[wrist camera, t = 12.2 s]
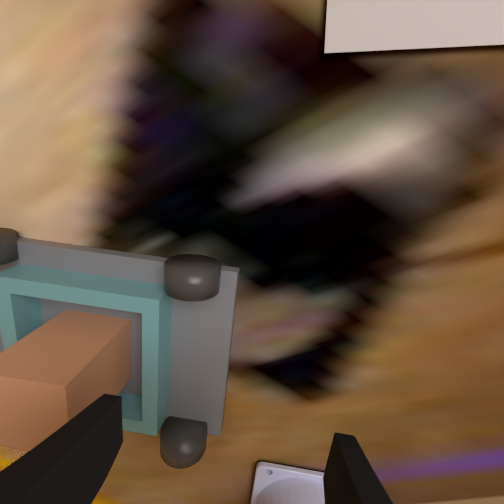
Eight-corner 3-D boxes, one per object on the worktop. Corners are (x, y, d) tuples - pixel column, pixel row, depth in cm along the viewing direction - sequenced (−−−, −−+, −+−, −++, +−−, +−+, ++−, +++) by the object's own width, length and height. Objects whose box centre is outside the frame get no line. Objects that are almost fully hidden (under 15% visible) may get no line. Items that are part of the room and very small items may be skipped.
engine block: (131, 319, 19) (64, 386, 13) (131, 375, 20) (72, 458, 14) (66, 309, 19) (-28, 370, 13) (71, 365, 20) (-12, 443, 14)
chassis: (240, 260, 18) (232, 279, 14) (221, 431, 22) (212, 474, 19) (-30, 223, 19) (-90, 234, 16) (2, 393, 23) (-42, 428, 20)
